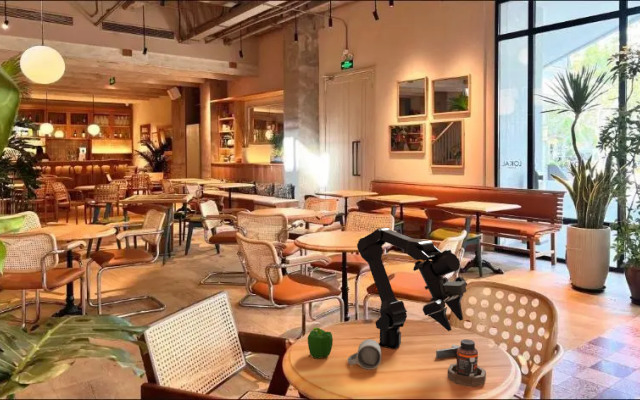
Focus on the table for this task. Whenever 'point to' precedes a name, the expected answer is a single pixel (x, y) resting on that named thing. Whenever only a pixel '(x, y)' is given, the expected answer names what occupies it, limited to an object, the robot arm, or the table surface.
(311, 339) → the bell pepper
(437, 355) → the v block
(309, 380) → the table surface
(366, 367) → the ceramic mug
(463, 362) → the supplement bottle
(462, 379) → the walnut collar
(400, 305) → the robot arm
